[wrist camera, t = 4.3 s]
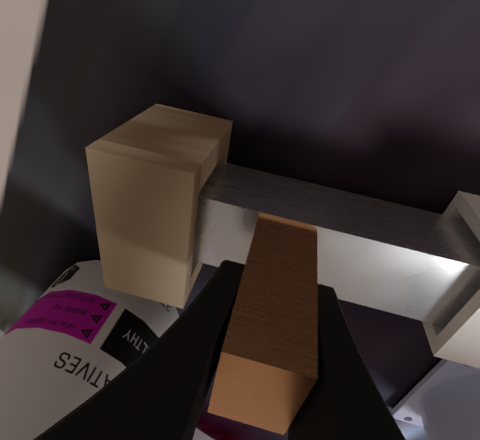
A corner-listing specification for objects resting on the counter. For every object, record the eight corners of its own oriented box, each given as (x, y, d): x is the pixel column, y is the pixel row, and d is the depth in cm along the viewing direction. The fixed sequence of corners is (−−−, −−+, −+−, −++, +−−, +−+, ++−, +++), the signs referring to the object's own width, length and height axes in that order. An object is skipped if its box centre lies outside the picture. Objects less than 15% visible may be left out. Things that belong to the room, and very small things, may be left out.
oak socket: (232, 120, 13) (194, 173, 9) (216, 233, 16) (183, 308, 12) (156, 103, 13) (84, 147, 9) (156, 218, 17) (104, 287, 13)
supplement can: (57, 300, 23) (-236, 634, 11) (85, 229, 18) (-378, 679, 6) (155, 352, 24) (-8, 703, 12) (205, 298, 20) (21, 782, 7)
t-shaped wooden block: (532, 236, 12) (787, 509, 6) (485, 287, 14) (636, 541, 7) (166, 148, 13) (17, 290, 7) (165, 206, 15) (45, 365, 8)
